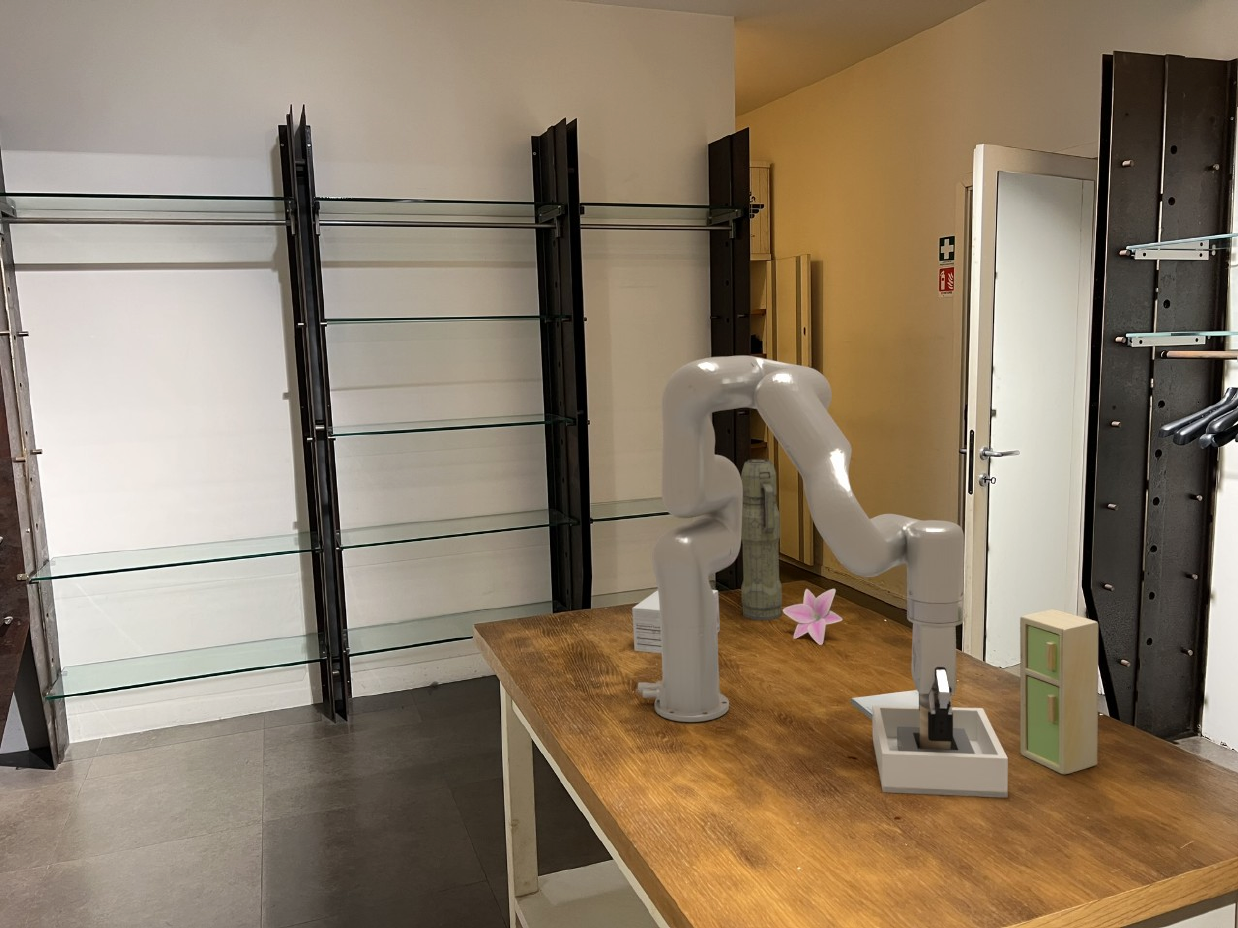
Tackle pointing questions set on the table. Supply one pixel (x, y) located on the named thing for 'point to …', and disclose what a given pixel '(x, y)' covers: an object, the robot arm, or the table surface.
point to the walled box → (939, 755)
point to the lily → (813, 615)
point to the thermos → (760, 542)
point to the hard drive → (885, 701)
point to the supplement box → (653, 623)
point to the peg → (924, 740)
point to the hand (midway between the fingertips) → (935, 725)
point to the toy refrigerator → (1059, 690)
